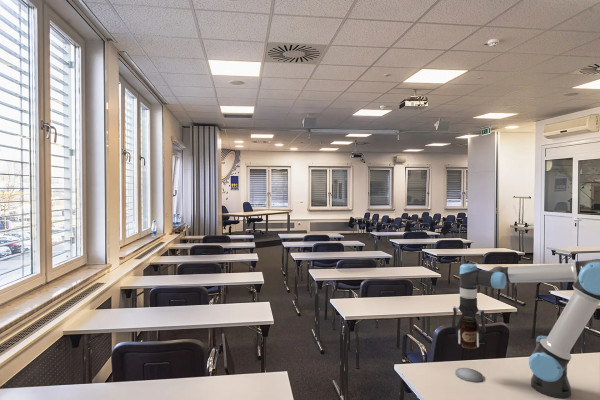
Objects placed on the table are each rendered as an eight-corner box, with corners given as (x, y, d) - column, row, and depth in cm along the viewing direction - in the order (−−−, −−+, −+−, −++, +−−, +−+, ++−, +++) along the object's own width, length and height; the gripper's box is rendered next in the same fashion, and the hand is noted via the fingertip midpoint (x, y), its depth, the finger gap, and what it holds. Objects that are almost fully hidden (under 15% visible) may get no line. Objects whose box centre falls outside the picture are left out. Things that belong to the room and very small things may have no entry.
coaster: (483, 373, 178) (483, 371, 178) (482, 384, 168) (482, 382, 168) (457, 367, 184) (457, 365, 184) (453, 377, 174) (453, 375, 174)
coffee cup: (481, 350, 171) (481, 322, 171) (464, 350, 171) (464, 322, 171) (473, 343, 180) (473, 316, 180) (456, 343, 180) (456, 316, 180)
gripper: (492, 297, 174) (492, 345, 174) (446, 292, 184) (447, 338, 184) (492, 301, 167) (492, 351, 167) (444, 295, 177) (445, 343, 177)
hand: (468, 344), depth 175 cm, fingers closed on coffee cup, 7 cm apart
